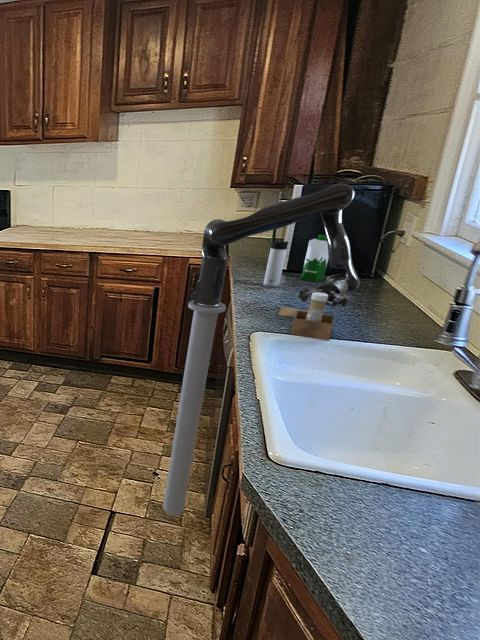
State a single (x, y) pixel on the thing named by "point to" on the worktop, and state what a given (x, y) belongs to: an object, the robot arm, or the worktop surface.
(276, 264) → the travel mug
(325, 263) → the milk carton
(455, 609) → the worktop surface
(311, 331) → the cardboard box
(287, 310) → the cork mat
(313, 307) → the sprinkles bottle
